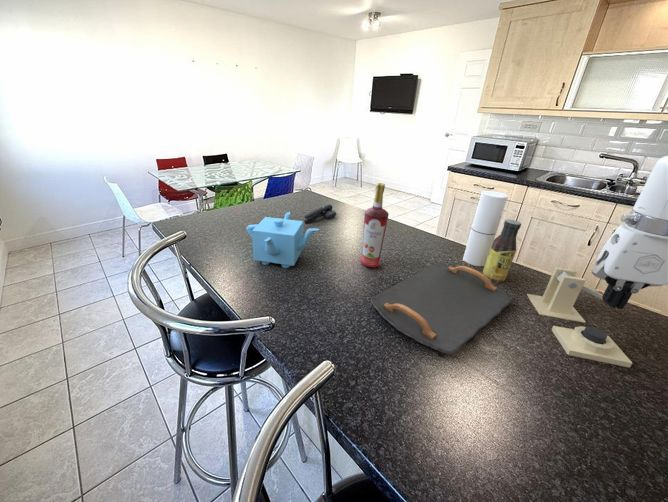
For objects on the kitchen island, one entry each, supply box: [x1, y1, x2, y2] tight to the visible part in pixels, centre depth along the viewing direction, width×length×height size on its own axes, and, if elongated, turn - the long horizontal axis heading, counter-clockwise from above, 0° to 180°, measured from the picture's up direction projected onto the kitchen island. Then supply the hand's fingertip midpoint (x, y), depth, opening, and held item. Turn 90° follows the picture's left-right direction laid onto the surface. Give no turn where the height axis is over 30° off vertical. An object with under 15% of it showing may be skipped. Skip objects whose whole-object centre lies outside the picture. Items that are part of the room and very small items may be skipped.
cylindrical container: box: [462, 190, 509, 267], centre depth 97 cm, size 7×7×25 cm
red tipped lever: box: [557, 272, 610, 307], centre depth 75 cm, size 12×5×2 cm, turn 74°
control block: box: [551, 325, 633, 368], centre depth 66 cm, size 11×8×4 cm
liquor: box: [359, 182, 390, 269], centre depth 94 cm, size 7×7×28 cm
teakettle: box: [246, 211, 320, 269], centre depth 99 cm, size 19×19×15 cm
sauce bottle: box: [482, 218, 522, 284], centre depth 89 cm, size 6×6×20 cm
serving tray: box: [370, 263, 514, 358], centre depth 79 cm, size 39×23×6 cm, turn 127°
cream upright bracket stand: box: [526, 267, 587, 324], centre depth 77 cm, size 10×9×12 cm
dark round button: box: [582, 326, 608, 344], centre depth 65 cm, size 4×4×2 cm
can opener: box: [303, 204, 337, 224], centre depth 134 cm, size 18×7×6 cm, turn 129°
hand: (611, 303), depth 62 cm, fingers closed
